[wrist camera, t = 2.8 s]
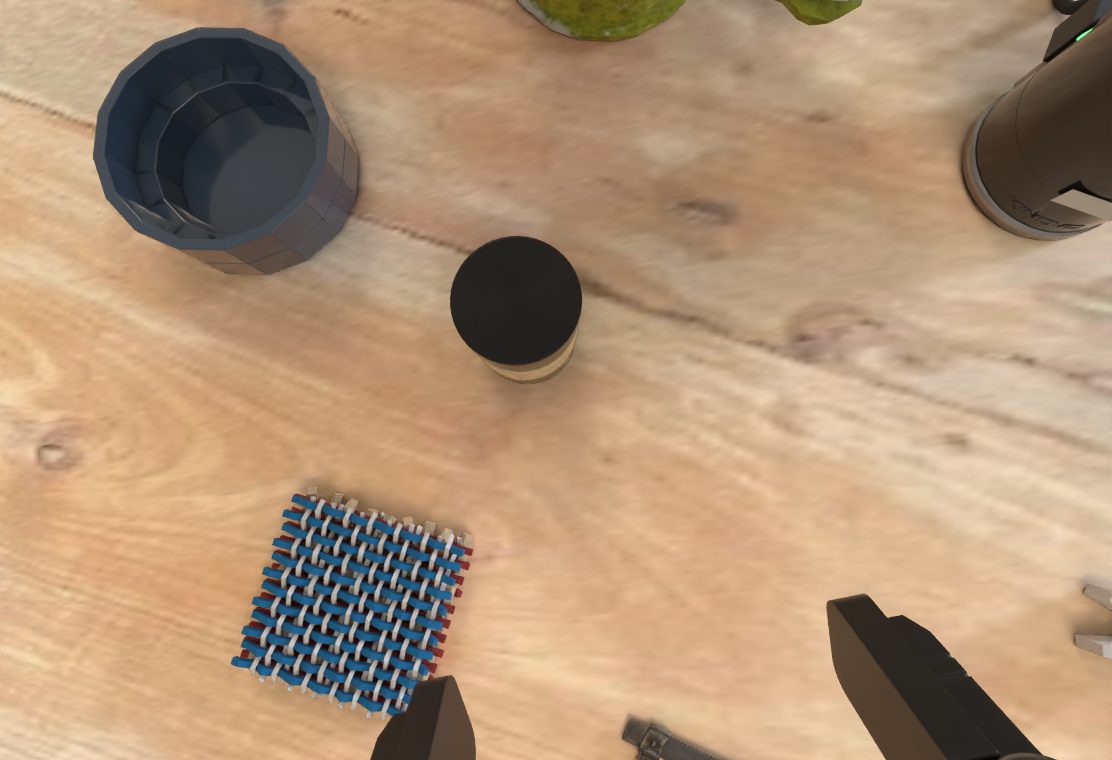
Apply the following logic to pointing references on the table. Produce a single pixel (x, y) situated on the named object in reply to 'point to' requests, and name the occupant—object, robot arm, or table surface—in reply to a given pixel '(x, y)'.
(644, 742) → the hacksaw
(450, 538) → the woven mat
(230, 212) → the slate bowl
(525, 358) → the green tin
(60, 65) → the table surface
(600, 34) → the blowtorch
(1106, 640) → the pliers
